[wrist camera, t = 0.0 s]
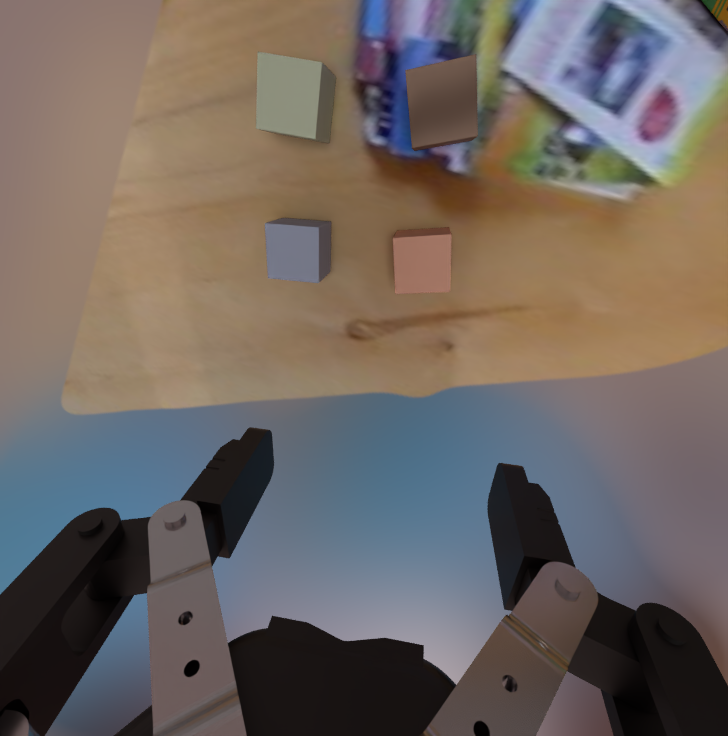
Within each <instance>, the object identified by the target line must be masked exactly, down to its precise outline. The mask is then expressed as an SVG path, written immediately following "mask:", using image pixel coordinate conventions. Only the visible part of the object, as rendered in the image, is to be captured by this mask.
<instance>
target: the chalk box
mask: <svg viewBox="0 0 728 736" xmlns="http://www.w3.org/2000/svg"><path fill="white" fill-rule="evenodd" d="M701 1H702V2H703V3H704V4H705V5H706V6H707V8H708V9H709V10H710V12H711V13H713V15H714V16H715V17H716V19H717V20H718V21H719V23H720V24H721V25H722V26H723V27H724V28H725V29H726V30H727V31H728V0H701Z"/></svg>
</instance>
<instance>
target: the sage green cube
mask: <svg viewBox="0 0 728 736" xmlns="http://www.w3.org/2000/svg"><path fill="white" fill-rule="evenodd" d="M335 84H336V76H335V75H334V74H333V73H332V72H331V71H330V70H329V69H328V68H327V67H326V66H325V65H324V64H323V63H322V62H317V61H311V60H305V59H299V58H293V57H288V56H282V55H276V54H270V53H264V52H258V65H257V110H256V129H260V130H264V131H267V132H271V133H275V134H280V135H285V136H291V137H296V138H302V139H307V140H313V141H318V142H324V143H330V133H331V123H332V113H333V104H334V94H335Z"/></svg>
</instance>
